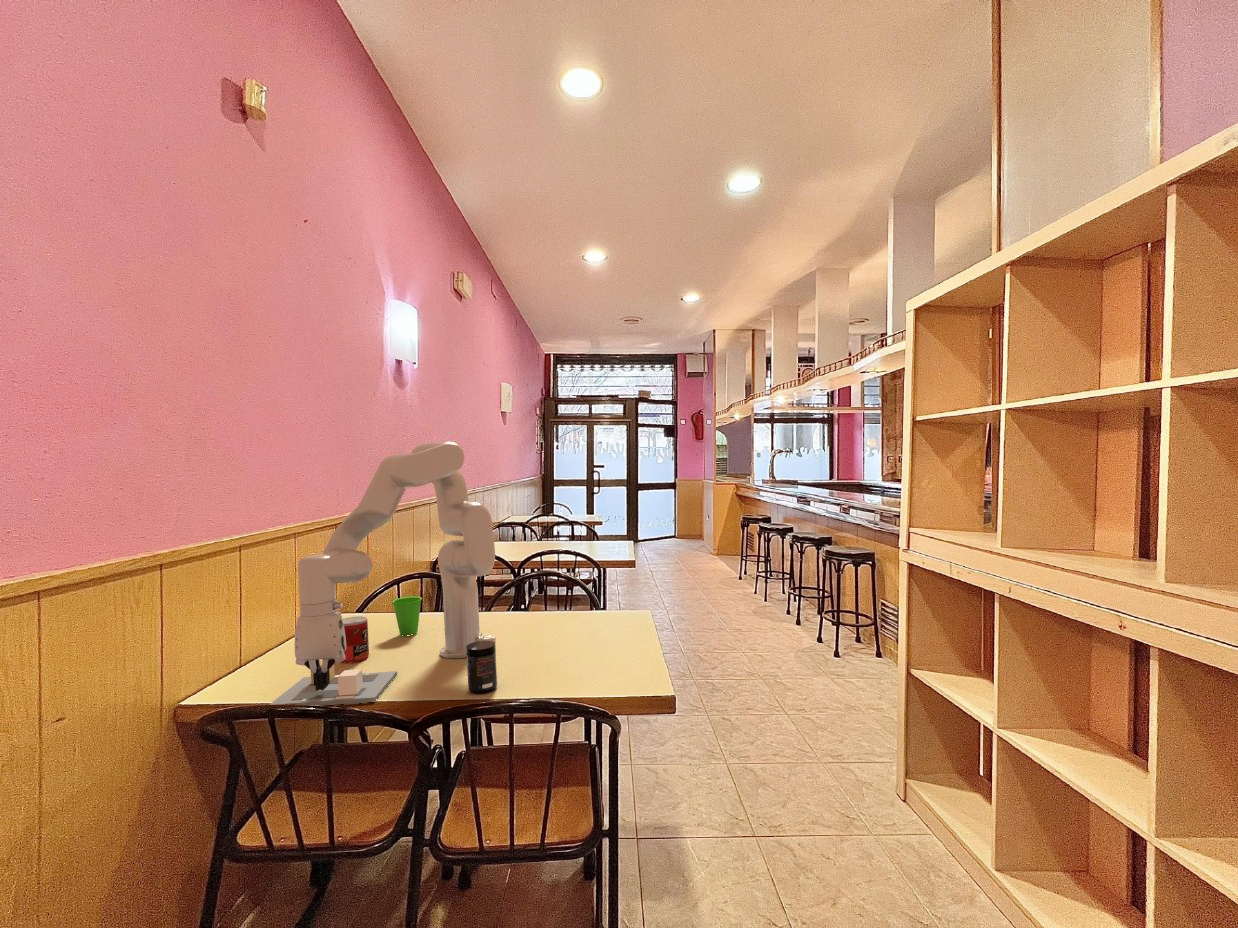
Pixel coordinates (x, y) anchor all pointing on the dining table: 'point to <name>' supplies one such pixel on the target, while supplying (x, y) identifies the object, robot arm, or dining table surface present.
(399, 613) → the cup
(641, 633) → the dining table surface
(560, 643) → the dining table surface
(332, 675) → the orange cube
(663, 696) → the dining table surface
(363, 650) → the canned food
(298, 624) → the robot arm
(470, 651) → the supplement container
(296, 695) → the switch board
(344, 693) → the pale pink cube
